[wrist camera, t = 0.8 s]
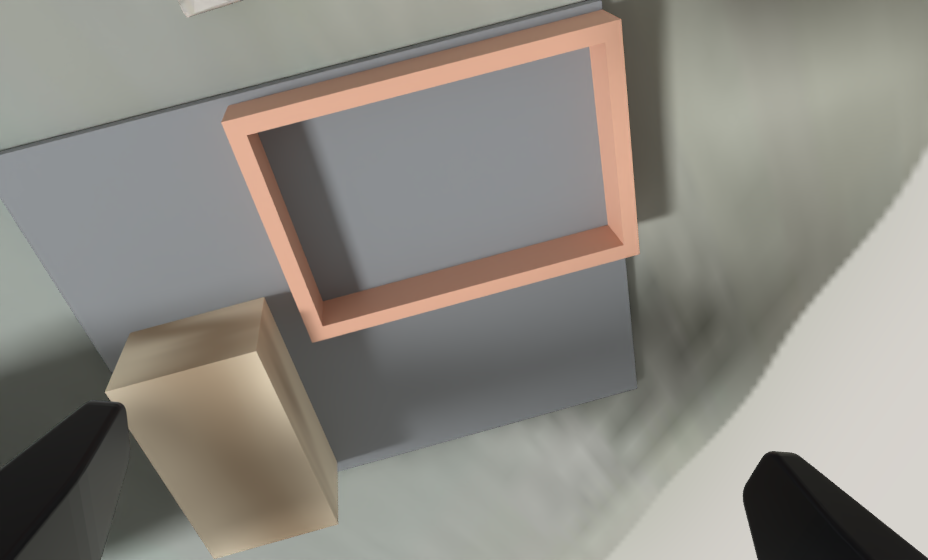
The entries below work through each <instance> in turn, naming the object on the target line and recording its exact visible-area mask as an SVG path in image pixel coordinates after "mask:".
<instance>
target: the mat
mask: <svg viewBox="0 0 928 560" xmlns="http://www.w3.org/2000/svg"><path fill="white" fill-rule="evenodd" d="M598 10H602V0H588V1H584V2H580V3H576V4H572V5H568V6H564V7H560V8H556V9H553V10H549V11H545V12H541V13H537V14H533V15H529V16H525V17H521V18H517V19H514V20H510V21H506V22H502V23H498V24H494V25H490V26H486V27H482V28H479V29H475V30H471V31H467V32H463V33H459V34H455V35H451V36H447V37H444V38H440V39H436V40H432V41H428V42H424V43H420V44H416V45H412V46H408V47H405V48H401V49H397V50H393V51H389V52H385V53H381V54H377V55H373V56H370V57H366V58H362V59H358V60H354V61H350V62H346V63H342V64H338V65H335V66H331V67H327V68H323V69H319V70H315V71H311V72H307V73H303V74H299V75H296V76H292V77H288V78H284V79H280V80H276V81H272V82H268V83H264V84H261V85H257V86H253V87H249V88H245V89H241V90H237V91H233V92H229V93H226V94H222V95H218V96H214V97H210V98H206V99H202V100H198V101H194V102H190V103H187V104H183V105H179V106H175V107H171V108H167V109H163V110H159V111H155V112H152V113H148V114H144V115H140V116H136V117H132V118H128V119H124V120H120V121H117V122H113V123H109V124H105V125H101V126H97V127H93V128H89V129H85V130H81V131H78V132H74V133H70V134H66V135H62V136H58V137H54V138H50V139H46V140H43V141H39V142H35V143H31V144H27V145H23V146H19V147H15V148H11V149H7V150H4V151H0V198H1V200H2V202H3V203H4V205H5V206H6V208H7V210H8V211H9V213H10V214H11V216H12V217H13V219H14V221H15V222H16V224H17V225H18V227H19V228H20V230H21V232H22V233H23V235H24V236H25V238H26V239H27V241H28V243H29V244H30V246H31V247H32V249H33V250H34V252H35V254H36V255H37V257H38V258H39V260H40V261H41V263H42V265H43V266H44V268H45V269H46V271H47V272H48V274H49V276H50V277H51V279H52V280H53V282H54V284H55V285H56V287H57V288H58V290H59V291H60V293H61V295H62V296H63V298H64V299H65V301H66V302H67V304H68V306H69V307H70V309H71V310H72V312H73V313H74V315H75V317H76V318H77V320H78V321H79V323H80V324H81V326H82V328H83V329H84V331H85V332H86V334H87V335H88V337H89V339H90V340H91V342H92V343H93V345H94V346H95V348H96V350H97V351H98V353H99V354H100V356H101V358H102V359H103V361H104V362H105V364H106V365H107V367H108V369H109V370H110V372H111V373H112V374H113V372H114V369H115V367H116V365H117V362H118V360H119V357H120V355H121V353H122V350H123V348H124V346H125V343H126V341H127V339H128V336H129V334H130V333H132V332H135V331H139V330H143V329H147V328H150V327H154V326H158V325H162V324H165V323H169V322H173V321H176V320H180V319H184V318H188V317H191V316H195V315H199V314H203V313H206V312H210V311H214V310H217V309H221V308H225V307H229V306H232V305H236V304H240V303H244V302H247V301H251V300H255V299H258V298H262V297H264V298H265V300H266V302H267V305H268V307H269V309H270V311H271V314H272V316H273V318H274V320H275V323H276V325H277V327H278V329H279V332H280V334H281V336H282V338H283V341H284V343H285V345H286V348H287V350H288V352H289V354H290V357H291V359H292V361H293V363H294V366H295V368H296V370H297V372H298V375H299V377H300V379H301V381H302V384H303V386H304V388H305V391H306V393H307V395H308V397H309V400H310V402H311V404H312V406H313V409H314V411H315V413H316V415H317V418H318V420H319V422H320V424H321V427H322V429H323V431H324V433H325V436H326V438H327V440H328V443H329V445H330V447H331V449H332V452H333V454H334V456H335V458H336V461H337V472H339V471H342V470H346V469H350V468H353V467H357V466H360V465H364V464H368V463H371V462H375V461H378V460H382V459H385V458H389V457H393V456H396V455H400V454H403V453H407V452H411V451H414V450H418V449H421V448H425V447H429V446H432V445H436V444H439V443H443V442H447V441H450V440H454V439H457V438H461V437H464V436H468V435H472V434H475V433H479V432H482V431H486V430H490V429H493V428H497V427H500V426H504V425H508V424H511V423H515V422H518V421H522V420H526V419H529V418H533V417H536V416H540V415H543V414H547V413H551V412H554V411H558V410H561V409H565V408H569V407H572V406H576V405H579V404H583V403H587V402H590V401H594V400H597V399H601V398H605V397H608V396H612V395H615V394H619V393H622V392H626V391H630V390H633V389H637V380H636V369H635V358H634V347H633V336H632V325H631V314H630V304H629V293H628V282H627V271H626V260H625V258H624V259H620V260H616V261H613V262H609V263H605V264H601V265H598V266H594V267H590V268H587V269H583V270H579V271H576V272H572V273H568V274H565V275H561V276H557V277H554V278H550V279H546V280H542V281H539V282H535V283H531V284H528V285H524V286H520V287H517V288H513V289H509V290H506V291H502V292H498V293H495V294H491V295H487V296H484V297H480V298H476V299H472V300H469V301H465V302H461V303H458V304H454V305H450V306H447V307H443V308H439V309H436V310H432V311H428V312H425V313H421V314H417V315H413V316H410V317H406V318H402V319H399V320H395V321H391V322H388V323H384V324H380V325H377V326H373V327H369V328H366V329H362V330H358V331H354V332H351V333H347V334H343V335H340V336H336V337H332V338H329V339H325V340H321V341H318V342H314V343H312V341H311V338H310V336H309V334H308V331H307V329H306V326H305V324H304V322H303V319H302V317H301V314H300V312H299V309H298V307H297V305H296V302H295V300H294V297H293V295H292V293H291V290H290V288H289V285H288V283H287V280H286V278H285V276H284V273H283V271H282V268H281V266H280V264H279V261H278V259H277V256H276V254H275V252H274V249H273V247H272V244H271V242H270V239H269V237H268V235H267V232H266V230H265V227H264V225H263V223H262V220H261V218H260V215H259V213H258V210H257V208H256V206H255V203H254V201H253V198H252V196H251V194H250V191H249V189H248V186H247V184H246V181H245V179H244V177H243V174H242V172H241V169H240V167H239V165H238V162H237V160H236V157H235V155H234V153H233V150H232V148H231V145H230V143H229V140H228V138H227V136H226V133H225V131H224V128H223V126H222V124H221V121H222V119H223V117H224V114H225V112H226V109H227V107H228V106H229V105H233V104H237V103H241V102H245V101H249V100H252V99H256V98H260V97H264V96H268V95H272V94H276V93H280V92H284V91H287V90H291V89H295V88H299V87H303V86H307V85H311V84H315V83H318V82H322V81H326V80H330V79H334V78H338V77H342V76H346V75H350V74H353V73H357V72H361V71H365V70H369V69H373V68H377V67H381V66H384V65H388V64H392V63H396V62H400V61H404V60H408V59H412V58H416V57H419V56H423V55H427V54H431V53H435V52H439V51H443V50H447V49H451V48H454V47H458V46H462V45H466V44H470V43H474V42H478V41H482V40H485V39H489V38H493V37H497V36H501V35H505V34H509V33H513V32H517V31H520V30H524V29H528V28H532V27H536V26H540V25H544V24H548V23H551V22H555V21H559V20H563V19H567V18H571V17H575V16H579V15H583V14H586V13H590V12H594V11H598ZM258 135H259V138H260V140H261V143H262V145H263V148H264V151H265V153H266V156H267V158H268V161H269V164H270V166H271V169H272V171H273V174H274V176H275V179H276V182H277V184H278V187H279V189H280V192H281V195H282V197H283V200H284V202H285V205H286V207H287V210H288V213H289V215H290V218H291V220H292V223H293V225H294V228H295V231H296V233H297V236H298V238H299V241H300V244H301V246H302V249H303V251H304V254H305V256H306V259H307V262H308V264H309V267H310V269H311V272H312V275H313V277H314V280H315V282H316V285H317V287H318V290H319V293H320V295H321V298H322V300H323V301H326V300H330V299H334V298H337V297H341V296H345V295H349V294H352V293H356V292H360V291H363V290H367V289H371V288H375V287H378V286H382V285H386V284H389V283H393V282H397V281H401V280H404V279H408V278H412V277H415V276H419V275H423V274H427V273H430V272H434V271H438V270H441V269H445V268H449V267H453V266H456V265H460V264H464V263H467V262H471V261H475V260H479V259H482V258H486V257H490V256H493V255H497V254H501V253H505V252H508V251H512V250H516V249H519V248H523V247H527V246H531V245H534V244H538V243H542V242H545V241H549V240H553V239H557V238H560V237H564V236H568V235H571V234H575V233H579V232H583V231H586V230H590V229H594V228H597V227H601V226H605V225H608V221H607V212H606V202H605V193H604V183H603V174H602V164H601V155H600V145H599V136H598V126H597V116H596V107H595V97H594V88H593V78H592V69H591V59H590V50H589V47H586V48H582V49H578V50H574V51H570V52H566V53H562V54H559V55H555V56H551V57H547V58H543V59H539V60H535V61H532V62H528V63H524V64H520V65H516V66H512V67H508V68H505V69H501V70H497V71H493V72H489V73H485V74H482V75H478V76H474V77H470V78H466V79H462V80H458V81H455V82H451V83H447V84H443V85H439V86H435V87H431V88H428V89H424V90H420V91H416V92H412V93H408V94H404V95H401V96H397V97H393V98H389V99H385V100H381V101H377V102H374V103H370V104H366V105H362V106H358V107H354V108H350V109H347V110H343V111H339V112H335V113H331V114H327V115H323V116H320V117H316V118H312V119H308V120H304V121H300V122H296V123H293V124H289V125H285V126H281V127H277V128H273V129H269V130H266V131H262V132H258Z"/></svg>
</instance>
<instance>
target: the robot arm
mask: <svg viewBox="0 0 928 560" xmlns="http://www.w3.org/2000/svg"><path fill="white" fill-rule="evenodd" d="M129 457H130V440H129V430H128V421H127V412H126V408H125V406H124V405H123V404H122V403H120V402H110V401H97V400H92V401H89V402H86V403H85V404H83V405H82V406H81V407H79V408H78V409H77V410H75V411H74V412H73V413H71V414H70V415H69V416H68V417H66V418H65V419H64V420H62V421H61V422H60V423H59V424H57V425H56V426H55V427H53V428H52V429H51V430H50V431H48V432H47V433H46V434H44V435H43V436H42V437H41V438H39V439H38V440H37V441H35V442H34V443H33V444H32V445H30V446H29V447H28V448H26V449H25V450H24V451H23V452H21V453H20V454H19V455H17V456H16V457H15V458H14V459H12V460H11V461H10V462H8V463H7V464H6V465H5V466H3V467H2V468H1V469H0V560H101V557H102V554H103V550H104V547H105V543H106V540H107V537H108V533H109V530H110V526H111V523H112V519H113V516H114V512H115V509H116V505H117V502H118V498H119V495H120V491H121V488H122V484H123V481H124V477H125V474H126V470H127V467H128V463H129ZM743 502H744V507H745V511H746V515H747V519H748V522H749V527H750V531H751V535H752V538H753V542H754V546H755V550H756V554H757V558H758V560H928V558H927V557H926V556H924V555H923V554H922V553H921V552H919V551H918V550H917V549H915V548H914V547H913V546H912V545H910V544H909V543H908V542H907V541H906V540H904V539H903V538H902V537H900V536H899V535H898V534H897V533H895V532H894V531H893V530H892V529H891V528H889V527H888V526H887V525H885V524H884V523H883V522H882V521H880V520H879V519H878V518H877V517H875V516H874V515H873V514H872V513H870V512H869V511H868V510H867V509H865V508H864V507H863V506H862V505H860V504H859V503H858V502H857V501H855V500H854V499H853V498H852V497H850V496H849V495H848V494H847V493H845V492H844V491H843V490H841V489H840V488H839V487H838V486H837V485H835V484H834V483H833V482H831V481H830V480H829V479H828V478H827V477H825V476H824V475H823V474H822V473H820V472H819V471H818V470H817V469H815V468H814V467H813V466H811V465H810V464H809V463H808V462H806V461H805V460H804V459H803V458H801V457H800V456H798V455H797V454H794V453H789V452H776V451H772V452H768V453H766V454H765V455H764V456H763V457H762V459H761V460H760V462H759V464H758V465H757V467H756V469H755V470H754V472H753V473H752V475H751V477H750V479H749V480H748V482H747V483H746V485H745V487H744V490H743Z"/></svg>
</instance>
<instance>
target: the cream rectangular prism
mask: <svg viewBox="0 0 928 560" xmlns="http://www.w3.org/2000/svg"><path fill="white" fill-rule="evenodd" d="M105 393H106V395H107V396H108V398H109V399H110V401H111V402H120V403H122V404H123V405H124V406H125V408H126V412H127V421H128V428H129V430H130V431H131V433H132V435H133V436H134V438H135V439H136V441H137V442H138V444H139V445H140V447H141V448H142V450H143V451H144V453H145V454H146V456H147V457H148V459H149V460H150V462H151V464H152V465H153V467H154V468H155V470H156V471H157V473H158V474H159V476H160V477H161V479H162V480H163V482H164V483H165V485H166V486H167V488H168V489H169V491H170V493H171V494H172V496H173V497H174V499H175V500H176V502H177V503H178V505H179V506H180V508H181V509H182V511H183V512H184V514H185V515H186V517H187V518H188V520H189V522H190V523H191V525H192V526H193V528H194V529H195V531H196V532H197V534H198V535H199V537H200V538H201V540H202V541H203V543H204V544H205V546H206V548H207V549H208V551H209V552H210V554H211V555H212V557H213V558H214V559H216V558H220V557H223V556H227V555H230V554H234V553H237V552H241V551H245V550H248V549H252V548H255V547H259V546H262V545H266V544H269V543H273V542H277V541H280V540H284V539H287V538H291V537H294V536H298V535H301V534H305V533H309V532H312V531H316V530H319V529H323V528H326V527H330V526H333V525H337V524H338V479H337V461H336V458H335V456H334V454H333V452H332V449H331V447H330V445H329V443H328V440H327V438H326V436H325V433H324V431H323V429H322V427H321V424H320V422H319V420H318V418H317V415H316V413H315V411H314V409H313V406H312V404H311V402H310V400H309V397H308V395H307V393H306V391H305V388H304V386H303V384H302V381H301V379H300V377H299V375H298V372H297V370H296V368H295V366H294V363H293V361H292V359H291V357H290V354H289V352H288V350H287V348H286V345H285V343H284V341H283V338H282V336H281V334H280V332H279V329H278V327H277V325H276V323H275V320H274V318H273V316H272V314H271V311H270V309H269V307H268V305H267V302H266V300H265V298H264V297H262V298H258V299H255V300H251V301H247V302H244V303H240V304H236V305H232V306H229V307H225V308H221V309H217V310H214V311H210V312H206V313H203V314H199V315H195V316H191V317H188V318H184V319H180V320H176V321H173V322H169V323H165V324H162V325H158V326H154V327H150V328H147V329H143V330H139V331H135V332H132V333H130V334H129V336H128V339H127V341H126V343H125V346H124V348H123V350H122V353H121V355H120V357H119V360H118V362H117V365H116V367H115V369H114V372H113V374H112V376H111V379H110V381H109V383H108V386H107V388H106V390H105Z"/></svg>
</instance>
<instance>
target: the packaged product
mask: <svg viewBox="0 0 928 560" xmlns="http://www.w3.org/2000/svg"><path fill="white" fill-rule="evenodd" d="M239 1H242V0H178V2H179V4H180V7H181V9H182V11H183V13H184V14H185V15H186V17H187V18H188V17H191V16H194V15H197V14H201V13H204V12H207V11H210V10H213V9H217V8H220V7H223V6H226V5H229V4H233V3H236V2H239Z"/></svg>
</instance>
